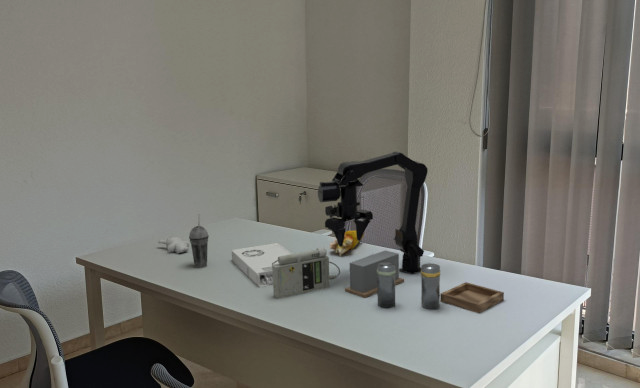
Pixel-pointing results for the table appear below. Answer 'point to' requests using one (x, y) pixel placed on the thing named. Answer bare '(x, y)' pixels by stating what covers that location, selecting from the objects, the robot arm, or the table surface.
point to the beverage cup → (199, 245)
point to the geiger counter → (301, 273)
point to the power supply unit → (259, 262)
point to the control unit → (370, 273)
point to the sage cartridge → (386, 284)
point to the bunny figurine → (175, 244)
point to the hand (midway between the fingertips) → (349, 243)
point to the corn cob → (345, 242)
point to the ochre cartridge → (430, 286)
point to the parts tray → (472, 297)
